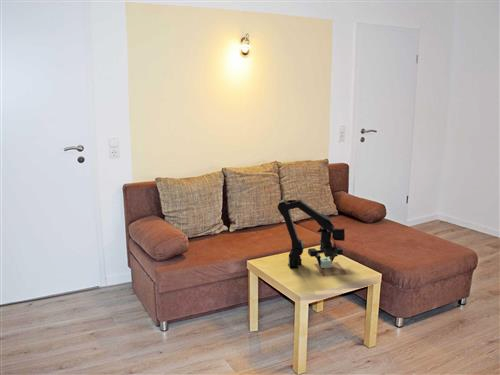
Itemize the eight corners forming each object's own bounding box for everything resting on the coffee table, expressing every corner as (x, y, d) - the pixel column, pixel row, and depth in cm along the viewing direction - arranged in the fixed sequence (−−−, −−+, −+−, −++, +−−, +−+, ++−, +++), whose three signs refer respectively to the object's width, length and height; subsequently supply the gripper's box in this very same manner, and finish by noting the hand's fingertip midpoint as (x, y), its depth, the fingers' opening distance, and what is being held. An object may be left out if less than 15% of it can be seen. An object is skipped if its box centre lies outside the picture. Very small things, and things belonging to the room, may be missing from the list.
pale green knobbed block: (321, 268, 247) (321, 260, 246) (318, 264, 253) (318, 257, 252) (331, 267, 248) (331, 260, 247) (328, 263, 254) (328, 256, 253)
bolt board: (323, 278, 238) (323, 271, 237) (313, 265, 255) (313, 259, 254) (348, 276, 240) (348, 269, 239) (337, 264, 257) (337, 257, 256)
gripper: (313, 245, 238) (312, 272, 241) (347, 243, 241) (345, 270, 244) (307, 238, 249) (307, 265, 252) (339, 237, 252) (338, 263, 255)
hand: (324, 266), depth 251 cm, fingers closed on pale green knobbed block, 6 cm apart
